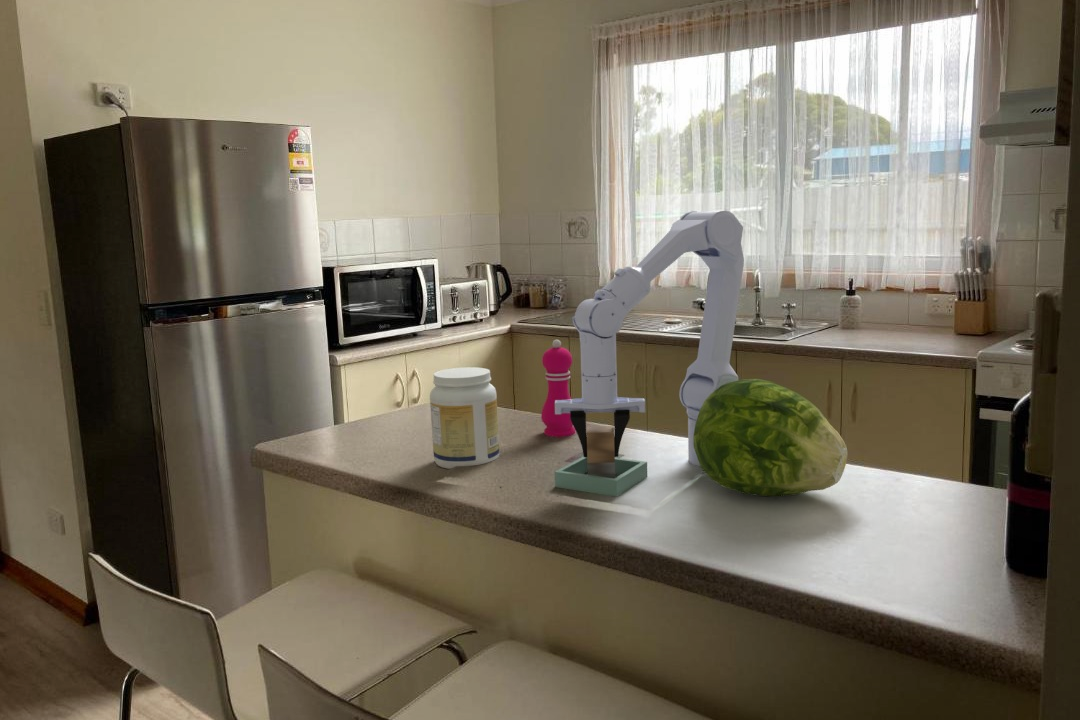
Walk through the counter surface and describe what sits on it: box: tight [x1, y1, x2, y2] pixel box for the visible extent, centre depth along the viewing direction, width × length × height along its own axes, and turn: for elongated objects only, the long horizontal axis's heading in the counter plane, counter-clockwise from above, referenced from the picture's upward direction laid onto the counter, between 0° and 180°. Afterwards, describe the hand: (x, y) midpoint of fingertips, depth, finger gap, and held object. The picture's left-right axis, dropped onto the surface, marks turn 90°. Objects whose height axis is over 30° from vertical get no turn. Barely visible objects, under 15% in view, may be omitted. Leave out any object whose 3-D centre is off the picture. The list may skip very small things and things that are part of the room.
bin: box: [554, 456, 648, 497], centre depth 141 cm, size 11×11×4 cm
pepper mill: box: [540, 339, 576, 438], centre depth 172 cm, size 7×7×20 cm
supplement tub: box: [429, 366, 500, 470], centre depth 157 cm, size 12×12×17 cm
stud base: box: [565, 451, 625, 463], centre depth 154 cm, size 8×8×3 cm
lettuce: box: [693, 378, 848, 498], centre depth 133 cm, size 19×23×18 cm
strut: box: [586, 425, 616, 479], centre depth 140 cm, size 4×4×8 cm
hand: (601, 455), depth 140 cm, fingers closed on strut, 4 cm apart
